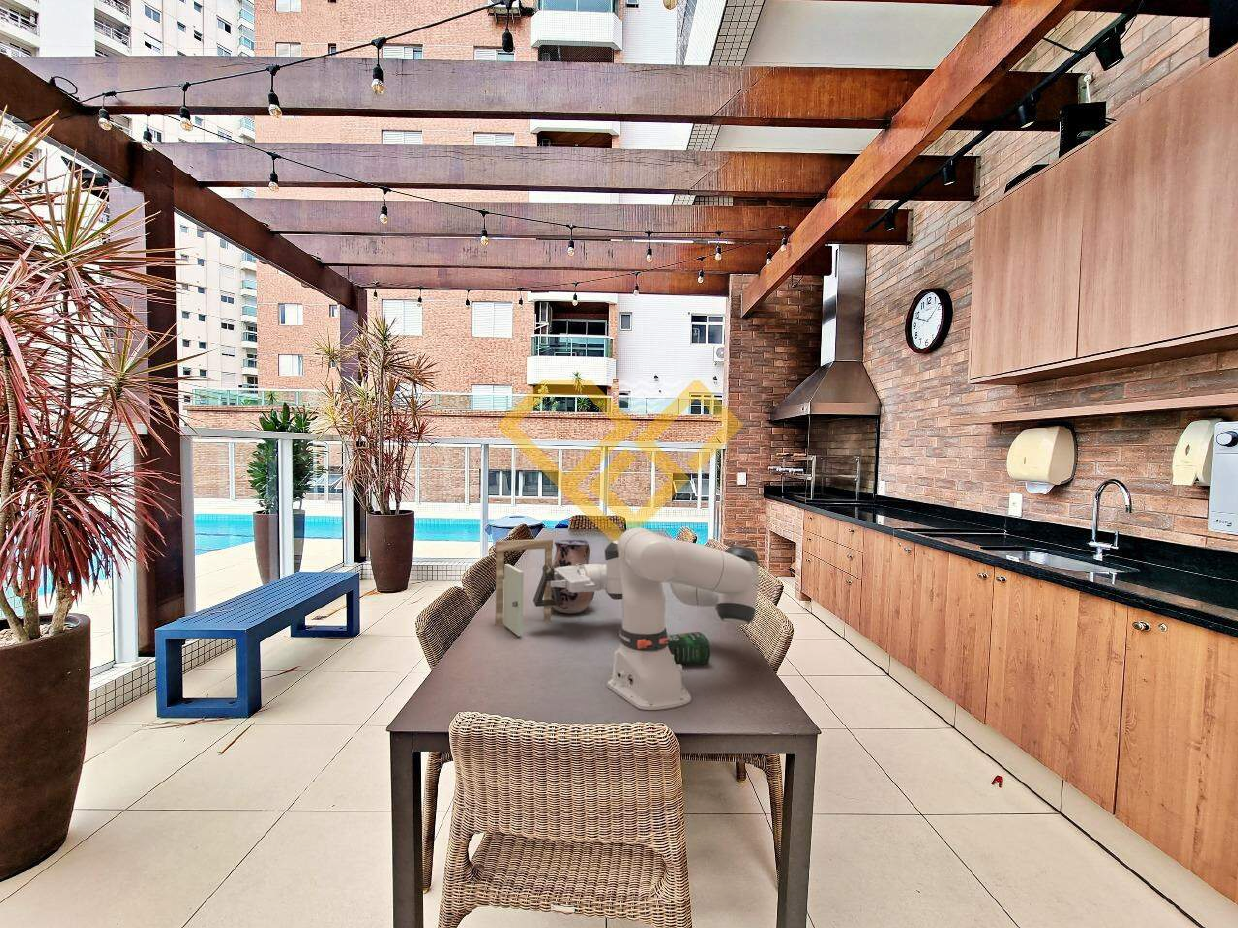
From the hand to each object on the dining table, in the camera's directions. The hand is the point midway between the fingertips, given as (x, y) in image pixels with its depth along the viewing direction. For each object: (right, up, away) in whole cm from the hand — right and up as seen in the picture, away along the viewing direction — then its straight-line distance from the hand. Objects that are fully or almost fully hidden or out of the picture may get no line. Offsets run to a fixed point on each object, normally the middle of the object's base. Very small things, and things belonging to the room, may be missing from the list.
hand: (547, 580), depth 179 cm
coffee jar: (+48, -15, -20) cm, 54 cm away
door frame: (-9, -16, +11) cm, 22 cm away
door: (-12, -16, 0) cm, 20 cm away
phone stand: (0, -8, 0) cm, 8 cm away
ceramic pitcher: (+6, -16, +28) cm, 33 cm away
